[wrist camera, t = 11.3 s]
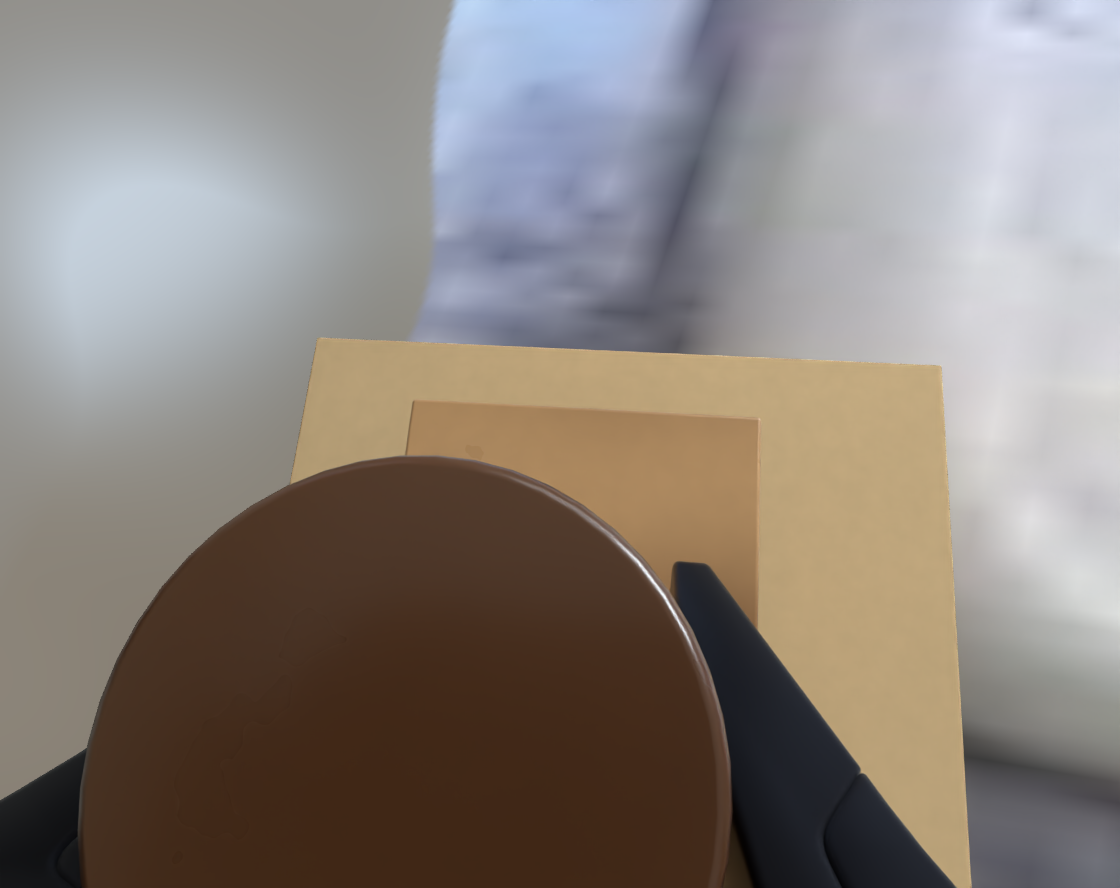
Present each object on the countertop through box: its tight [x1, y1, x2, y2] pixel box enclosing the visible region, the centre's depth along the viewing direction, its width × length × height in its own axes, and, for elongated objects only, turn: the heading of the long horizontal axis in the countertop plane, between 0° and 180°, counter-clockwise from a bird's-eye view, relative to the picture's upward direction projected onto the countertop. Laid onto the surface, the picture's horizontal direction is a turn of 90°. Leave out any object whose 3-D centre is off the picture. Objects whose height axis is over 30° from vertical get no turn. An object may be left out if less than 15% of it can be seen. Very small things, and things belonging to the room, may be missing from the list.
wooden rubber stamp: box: [78, 399, 761, 888], centre depth 9 cm, size 9×6×12 cm, turn 175°
